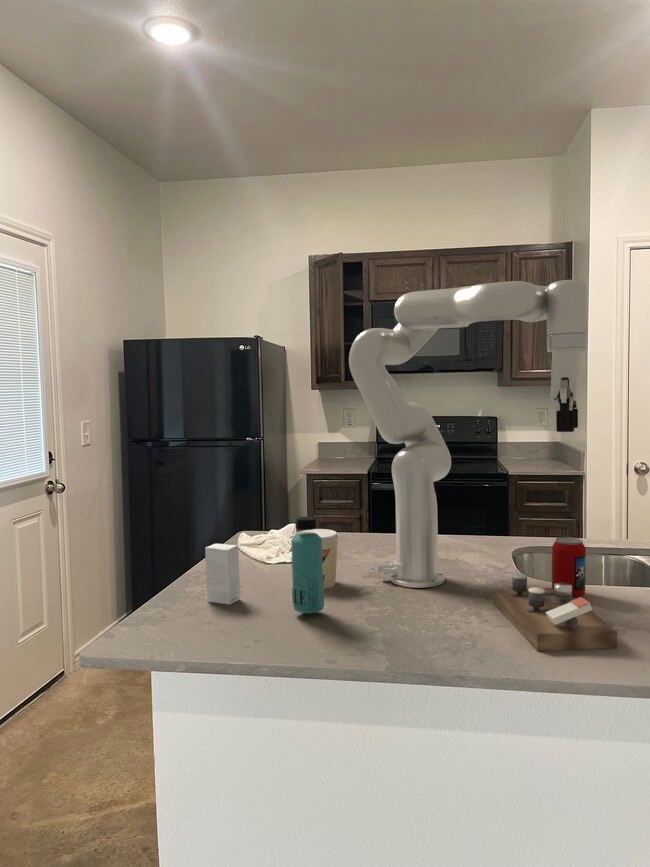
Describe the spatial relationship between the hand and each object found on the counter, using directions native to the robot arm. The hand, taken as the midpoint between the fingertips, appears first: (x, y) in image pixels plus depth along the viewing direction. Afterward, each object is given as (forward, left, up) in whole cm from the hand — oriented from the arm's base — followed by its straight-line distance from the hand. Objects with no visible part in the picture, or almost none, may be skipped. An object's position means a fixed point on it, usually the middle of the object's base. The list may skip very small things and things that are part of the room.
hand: (567, 429), depth 133 cm
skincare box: (-71, +11, -36) cm, 80 cm away
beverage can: (+3, +6, -36) cm, 37 cm away
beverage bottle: (-53, 0, -36) cm, 64 cm away
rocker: (-7, -19, -31) cm, 37 cm away
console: (-7, -10, -36) cm, 38 cm away
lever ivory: (-10, -11, -33) cm, 36 cm away
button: (-3, -6, -32) cm, 33 cm away
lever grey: (-10, -2, -33) cm, 35 cm away
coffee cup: (-50, +20, -36) cm, 65 cm away
